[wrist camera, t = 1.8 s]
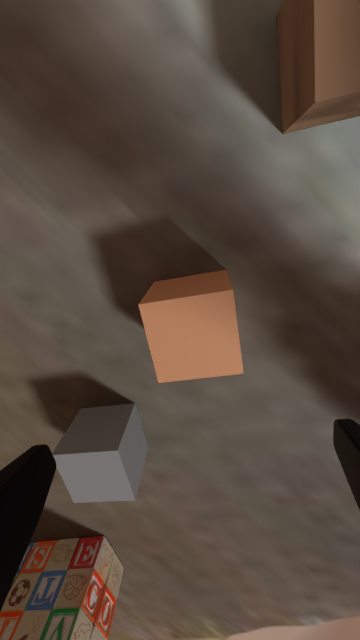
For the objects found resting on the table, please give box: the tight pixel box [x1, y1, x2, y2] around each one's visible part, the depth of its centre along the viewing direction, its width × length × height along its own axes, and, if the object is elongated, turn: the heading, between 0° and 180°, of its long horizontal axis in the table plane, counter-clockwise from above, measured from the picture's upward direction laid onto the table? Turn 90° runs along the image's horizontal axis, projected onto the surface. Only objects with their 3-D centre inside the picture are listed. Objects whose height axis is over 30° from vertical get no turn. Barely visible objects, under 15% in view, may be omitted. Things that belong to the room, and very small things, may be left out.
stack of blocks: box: [0, 536, 124, 640], centre depth 28 cm, size 21×6×12 cm, turn 108°
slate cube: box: [52, 403, 148, 503], centre depth 22 cm, size 5×5×5 cm
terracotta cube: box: [138, 270, 244, 383], centre depth 17 cm, size 5×5×5 cm
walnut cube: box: [277, 0, 360, 134], centre depth 12 cm, size 5×5×5 cm
